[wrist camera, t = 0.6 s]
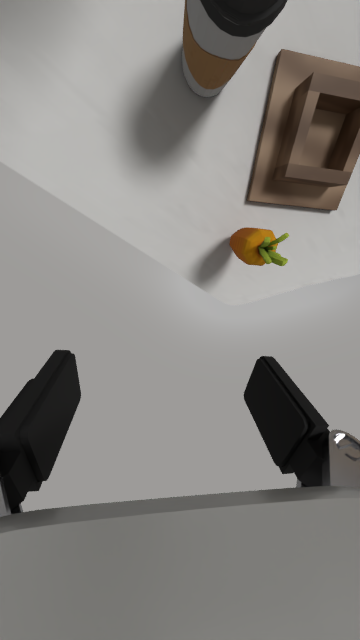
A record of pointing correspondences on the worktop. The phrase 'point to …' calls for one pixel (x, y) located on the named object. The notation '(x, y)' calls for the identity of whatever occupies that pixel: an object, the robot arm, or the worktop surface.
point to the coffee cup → (221, 38)
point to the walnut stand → (308, 133)
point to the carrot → (257, 246)
